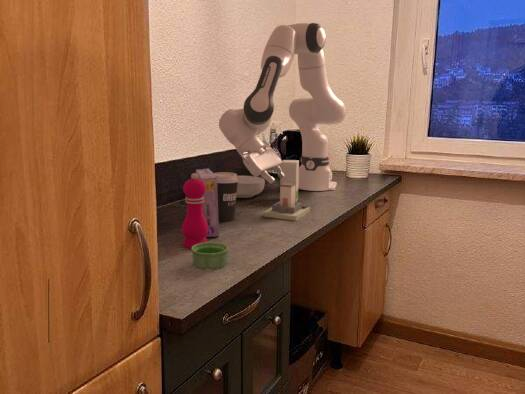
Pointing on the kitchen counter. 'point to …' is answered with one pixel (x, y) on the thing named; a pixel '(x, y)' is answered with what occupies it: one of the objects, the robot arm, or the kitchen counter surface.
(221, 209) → the coffee cup
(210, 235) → the cake pan box
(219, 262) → the ramekin
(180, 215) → the kitchen counter surface
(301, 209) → the board
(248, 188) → the cereal bowl
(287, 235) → the kitchen counter surface
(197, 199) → the pepper mill
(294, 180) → the skincare box
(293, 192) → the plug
